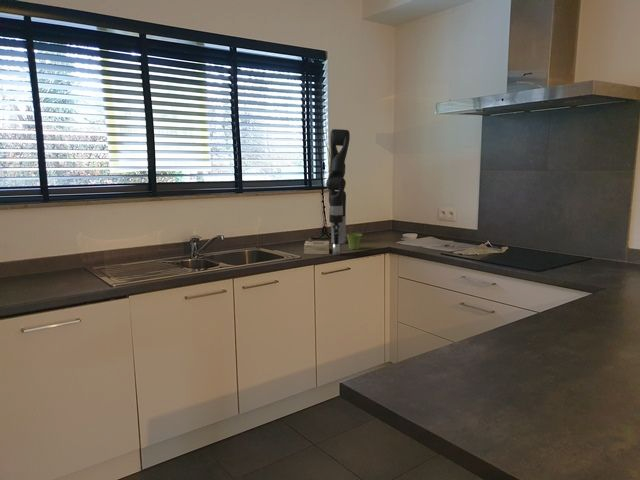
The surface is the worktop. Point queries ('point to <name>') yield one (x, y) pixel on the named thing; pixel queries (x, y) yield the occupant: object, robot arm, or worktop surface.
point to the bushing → (336, 249)
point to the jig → (316, 247)
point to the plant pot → (354, 240)
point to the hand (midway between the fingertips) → (336, 242)
